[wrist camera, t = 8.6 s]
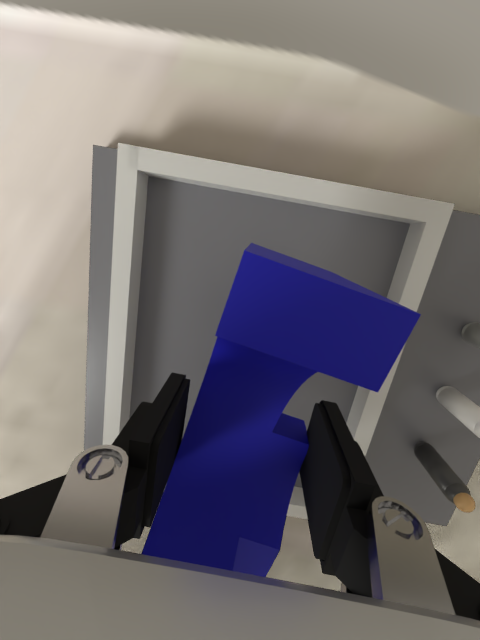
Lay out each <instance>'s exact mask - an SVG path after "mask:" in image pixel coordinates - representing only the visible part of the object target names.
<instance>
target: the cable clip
mask: <svg viewBox="0 0 480 640" xmlns="http://www.w3.org/2000/svg"><path fill="white" fill-rule="evenodd" d="M420 316H421V314H419V313H417V312H415V311H413V310H411V309H409V308H407V307H405V306H402V305H400V304H398V303H396V302H394V301H392V300H390V299H388V298H386V297H383V296H381V295H379V294H377V293H375V292H373V291H371V290H369V289H367V288H364V287H362V286H360V285H358V284H356V283H354V282H352V281H350V280H348V279H345V278H343V277H341V276H339V275H337V274H335V273H333V272H331V271H328V270H325V269H322V268H320V267H317V266H314V265H311V264H309V263H306V262H303V261H300V260H298V259H295V258H292V257H289V256H287V255H284V254H281V253H278V252H276V251H273V250H270V249H267V248H265V247H262V246H259V245H256V244H254V243H251V244H250V245H249V246H248V247H247V248H246V249H245V250H244V253H243V256H242V258H241V261H240V264H239V267H238V270H237V273H236V276H235V279H234V282H233V285H232V288H231V290H230V293H229V296H228V299H227V302H226V305H225V308H224V311H223V314H222V317H221V319H220V322H219V325H218V328H217V331H216V334H215V336H217V340H216V343H215V346H214V349H213V352H212V355H211V358H210V361H209V364H208V367H207V370H206V373H205V376H204V379H203V381H202V384H201V387H200V390H199V393H198V396H197V399H196V402H195V405H194V407H193V410H192V413H191V416H190V419H189V422H188V425H187V427H186V430H185V433H184V436H183V439H182V442H181V444H180V447H179V450H178V453H177V456H176V459H175V461H174V465H173V467H172V470H171V473H170V476H169V478H168V481H167V484H166V487H165V490H164V492H163V495H162V498H161V501H160V504H159V506H158V509H157V512H156V515H155V518H154V520H153V523H152V526H151V529H150V532H149V534H148V537H147V540H146V543H145V545H144V548H143V551H142V554H143V555H148V556H154V557H159V558H165V559H170V560H176V561H181V562H187V563H192V564H198V565H203V566H208V567H214V568H219V569H224V570H230V571H235V572H240V573H246V574H251V575H256V576H262V577H266V575H267V573H268V571H269V570H270V568H271V566H272V564H273V562H274V560H275V558H276V557H277V555H278V553H279V551H280V547H281V541H282V535H283V530H284V525H285V520H286V516H287V511H288V507H289V503H290V499H291V496H292V492H293V489H294V486H295V483H296V480H297V477H298V474H299V471H300V468H301V466H302V463H303V461H304V458H305V456H306V454H307V451H308V447H309V442H308V438H307V434H306V433H307V430H306V426H305V422H304V420H301V419H298V418H295V417H292V416H289V415H286V414H283V413H282V412H283V410H284V408H285V407H286V405H287V404H288V402H289V400H290V399H291V398H292V396H293V395H294V393H295V392H296V391H297V390H298V389H299V387H300V386H301V385H302V384H303V383H304V382H305V381H306V380H307V379H308V378H310V377H311V376H312V375H314V374H315V373H317V372H320V373H323V374H326V375H329V376H332V377H334V378H337V379H340V380H343V381H346V382H349V383H352V384H355V385H357V386H360V387H363V388H366V389H369V390H372V391H375V392H379V390H380V388H381V386H382V384H383V383H384V381H385V379H386V377H387V375H388V374H389V372H390V370H391V368H392V366H393V365H394V363H395V361H396V359H397V357H398V355H399V354H400V352H401V350H402V348H403V346H404V345H405V343H406V341H407V339H408V337H409V336H410V334H411V332H412V330H413V328H414V326H415V325H416V323H417V321H418V319H419V317H420Z"/></svg>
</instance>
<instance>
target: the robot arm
mask: <svg viewBox="0 0 480 640" xmlns="http://www.w3.org/2000/svg"><path fill="white" fill-rule="evenodd" d="M189 387H190V379H186V375H183V374H178V373H173V372H172V373H171V374H170V376H169V377H168V379H167V381H166V382H165V384H164V385H163V387H162V389H161V390H160V392H159V393H158V395H157V396H156V398H155V400H154V401H153V403H149V402H144V401H143V402H141V403H140V405H139V406H138V407H137V409H136V410H135V412H134V413H133V415H132V416H131V417H130V419H129V420H128V422H127V423H126V425H125V426H124V427H123V429H122V430H121V432H120V433H119V435H118V436H117V438H116V439H115V440H114V442H113V443H112V445H98V446H94V447H91V448H89V449H87V450H85V451H83V452H81V453H80V454H79V455H78V456H77V457H76V458H75V459H74V461H73V462H72V464H71V466H70V468H69V471H68V473H67V475H64V476H61V477H59V478H56V479H53V480H51V481H48V482H45V483H43V484H40V485H37V486H35V487H32V488H29V489H26V490H24V491H21V492H18V493H16V494H13V495H10V496H8V497H5V498H2V499H0V640H480V583H478V582H477V581H476V580H474V579H473V578H472V577H470V576H469V575H468V574H467V573H465V572H464V571H463V570H461V569H460V568H459V567H458V566H456V565H455V564H454V563H452V562H451V561H450V560H449V559H447V558H446V557H445V556H443V555H442V554H441V553H439V552H438V551H437V550H436V549H434V545H433V542H432V539H431V536H430V533H429V530H428V528H427V526H426V524H425V522H424V521H423V520H422V518H421V517H420V516H419V515H418V514H417V513H416V512H415V511H414V510H413V509H412V508H411V507H409V506H408V505H406V504H405V503H403V502H401V501H399V500H397V499H395V498H391V497H387V496H384V495H383V493H382V491H381V489H380V487H379V485H378V483H377V481H376V479H375V477H374V475H373V473H372V470H371V468H370V466H369V464H368V462H367V460H366V458H365V456H364V454H363V452H362V450H361V448H360V446H359V444H358V443H357V442H356V441H354V439H353V437H352V435H351V432H350V430H349V428H348V426H347V424H346V422H345V420H344V418H343V415H342V413H341V411H340V409H339V407H338V405H337V403H335V402H329V401H324V400H321V401H320V403H315V405H314V408H313V412H312V415H311V419H310V422H309V426H308V429H307V433H306V434H307V438H308V442H309V447H308V451H307V454H306V456H305V458H304V461H303V463H302V466H301V468H300V471H299V472H300V478H301V484H302V489H303V495H304V501H305V506H306V512H307V518H308V523H309V529H310V534H311V540H312V546H313V551H314V556H315V558H316V559H320V562H321V568H322V573H323V574H328V575H334V576H336V577H337V578H338V579H339V580H340V581H341V582H342V583H341V592H340V591H335V590H329V589H324V588H319V587H314V586H309V585H304V584H298V583H293V582H288V581H283V580H277V579H272V578H267V577H262V576H256V575H251V574H246V573H240V572H235V571H230V570H224V569H219V568H214V567H208V566H203V565H198V564H192V563H187V562H181V561H176V560H170V559H165V558H159V557H154V556H148V555H143V554H137V553H132V552H126V551H121V547H122V544H123V543H125V542H126V541H128V540H130V539H131V538H138V539H140V537H141V534H142V531H143V529H144V526H146V527H151V525H152V522H153V519H154V517H155V514H156V511H157V508H158V506H159V503H160V500H161V497H162V495H163V492H164V489H165V487H166V484H167V481H168V478H169V476H170V473H171V470H172V467H173V465H174V461H175V459H176V456H177V453H178V450H179V447H180V444H181V442H182V437H183V430H184V423H185V416H186V409H187V402H188V394H189Z"/></svg>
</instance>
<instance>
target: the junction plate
mask: <svg viewBox="0 0 480 640" xmlns="http://www.w3.org/2000/svg"><path fill="white" fill-rule="evenodd" d="M454 205H455V204H454V203H448V202H443V201H437V200H432V199H426V198H421V197H415V196H409V195H404V194H398V193H393V192H387V191H382V190H376V189H371V188H365V187H360V186H354V185H349V184H343V183H338V182H332V181H327V180H321V179H316V178H310V177H305V176H299V175H294V174H288V173H283V172H277V171H272V170H266V169H261V168H255V167H250V166H244V165H238V164H233V163H227V162H222V161H216V160H211V159H205V158H200V157H194V156H189V155H183V154H178V153H172V152H167V151H161V150H156V149H150V148H145V147H139V146H134V145H128V144H123V143H118V149H113V148H108V147H102V146H97V145H93V166H92V200H91V233H90V267H89V300H88V333H87V367H86V400H85V434H84V451H85V450H87V449H89V448H91V447H94V446H98V445H112V443H113V442H114V440H115V439H116V438H117V436H118V435H119V433H120V432H121V430H122V429H123V427H124V426H125V425H126V423H127V422H128V420H129V419H130V417H131V416H132V415H133V413H134V412H135V410H136V409H137V407H138V406H139V405H140V403H141V402H143V401H144V402H149V403H153V401H154V400H155V398H156V396H157V395H158V393H159V392H160V390H161V389H162V387H163V385H164V384H165V382H166V381H167V379H168V377H169V376H170V374H171V373H172V372H173V373H178V374H183V375H186V379H190V387H189V394H188V402H187V409H186V416H185V423H184V430H183V436H184V433H185V430H186V427H187V425H188V422H189V419H190V416H191V413H192V410H193V407H194V405H195V402H196V399H197V396H198V393H199V390H200V387H201V384H202V381H203V379H204V376H205V373H206V370H207V367H208V364H209V361H210V358H211V355H212V352H213V349H214V346H215V343H216V340H217V336H215V334H216V331H217V328H218V325H219V322H220V319H221V317H222V314H223V311H224V308H225V305H226V302H227V299H228V296H229V293H230V290H231V288H232V285H233V282H234V279H235V276H236V273H237V270H238V267H239V264H240V261H241V258H242V256H243V253H244V250H245V249H246V248H247V247H248V246H249V245H250V244H251V243H254V244H256V245H259V246H262V247H265V248H267V249H270V250H273V251H276V252H278V253H281V254H284V255H287V256H289V257H292V258H295V259H298V260H300V261H303V262H306V263H309V264H311V265H314V266H317V267H320V268H322V269H325V270H328V271H331V272H333V273H335V274H337V275H339V276H341V277H343V278H345V279H348V280H350V281H352V282H354V283H356V284H358V285H360V286H362V287H364V288H367V289H369V290H371V291H373V292H375V293H377V294H379V295H381V296H383V297H386V298H388V299H390V300H392V301H394V302H396V303H398V304H400V305H402V306H405V307H407V308H409V309H411V310H413V311H415V312H417V313H419V314H421V316H420V317H419V319H418V321H417V323H416V325H415V326H414V328H413V330H412V332H411V334H410V336H409V337H408V339H407V341H406V343H405V345H404V346H403V348H402V350H401V352H400V354H399V355H398V357H397V359H396V361H395V363H394V365H393V366H392V368H391V370H390V372H389V374H388V375H387V377H386V379H385V381H384V383H383V384H382V386H381V388H380V390H379V392H375V391H372V390H369V389H366V388H363V387H360V386H357V385H355V384H352V383H349V382H346V381H343V380H340V379H337V378H334V377H332V376H329V375H326V374H323V373H320V372H317V373H315V374H314V375H312V376H311V377H310V378H308V379H307V380H306V381H305V382H304V383H303V384H302V385H301V386H300V387H299V389H298V390H297V391H296V392H295V393H294V395H293V396H292V398H291V399H290V400H289V402H288V404H287V405H286V407H285V408H284V410H283V412H282V413H283V414H286V415H289V416H292V417H295V418H298V419H301V420H304V422H305V426H306V430H307V429H308V426H309V422H310V419H311V415H312V412H313V408H314V405H315V403H320V401H321V400H324V401H329V402H335V403H337V405H338V407H339V409H340V411H341V413H342V415H343V418H344V420H345V422H346V424H347V426H348V428H349V430H350V432H351V435H352V437H353V439H354V441H356V442H357V443H358V444H359V446H360V448H361V450H362V452H363V454H364V456H365V458H366V460H367V462H368V464H369V466H370V468H371V470H372V473H373V475H374V477H375V479H376V481H377V483H378V485H379V487H380V489H381V491H382V493H383V495H384V496H387V497H391V498H395V499H397V500H399V501H401V502H403V503H405V504H406V505H408V506H409V507H411V508H412V509H413V510H414V511H415V512H416V513H417V514H418V515H419V516H420V517H421V518H422V520H423V521H424V522H426V523H431V524H437V525H442V526H447V524H448V522H449V520H450V518H451V516H452V514H453V512H454V510H455V508H456V507H457V508H458V509H459V510H461V511H463V512H472V511H473V510H474V509H475V501H474V499H473V498H472V497H471V495H470V491H469V489H468V487H467V486H466V485H467V483H468V481H469V479H470V477H471V475H472V473H473V471H474V469H475V467H476V465H477V463H478V461H479V459H480V215H477V214H472V213H466V212H461V211H455V210H453V208H454ZM182 439H183V437H182ZM164 490H165V489H164ZM287 516H290V517H295V518H301V519H306V520H308V518H307V512H306V506H305V501H304V495H303V489H302V484H301V478H300V472H299V474H298V477H297V480H296V483H295V486H294V489H293V492H292V496H291V499H290V503H289V507H288V511H287Z"/></svg>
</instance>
